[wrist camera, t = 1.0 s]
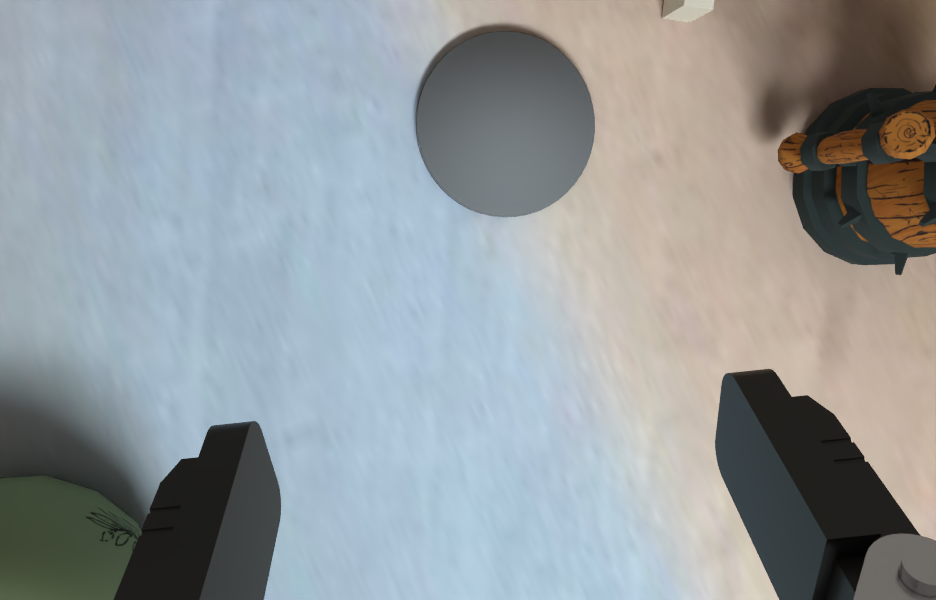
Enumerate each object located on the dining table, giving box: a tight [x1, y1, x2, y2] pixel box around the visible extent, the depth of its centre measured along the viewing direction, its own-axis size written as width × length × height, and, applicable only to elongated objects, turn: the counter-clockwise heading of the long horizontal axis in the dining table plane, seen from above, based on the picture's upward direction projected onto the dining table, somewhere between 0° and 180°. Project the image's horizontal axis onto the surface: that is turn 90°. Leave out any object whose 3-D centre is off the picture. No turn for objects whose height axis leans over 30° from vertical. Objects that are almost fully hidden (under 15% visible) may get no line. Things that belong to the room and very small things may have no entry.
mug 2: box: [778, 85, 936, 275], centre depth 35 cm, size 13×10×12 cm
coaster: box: [416, 31, 595, 217], centre depth 37 cm, size 9×9×1 cm
